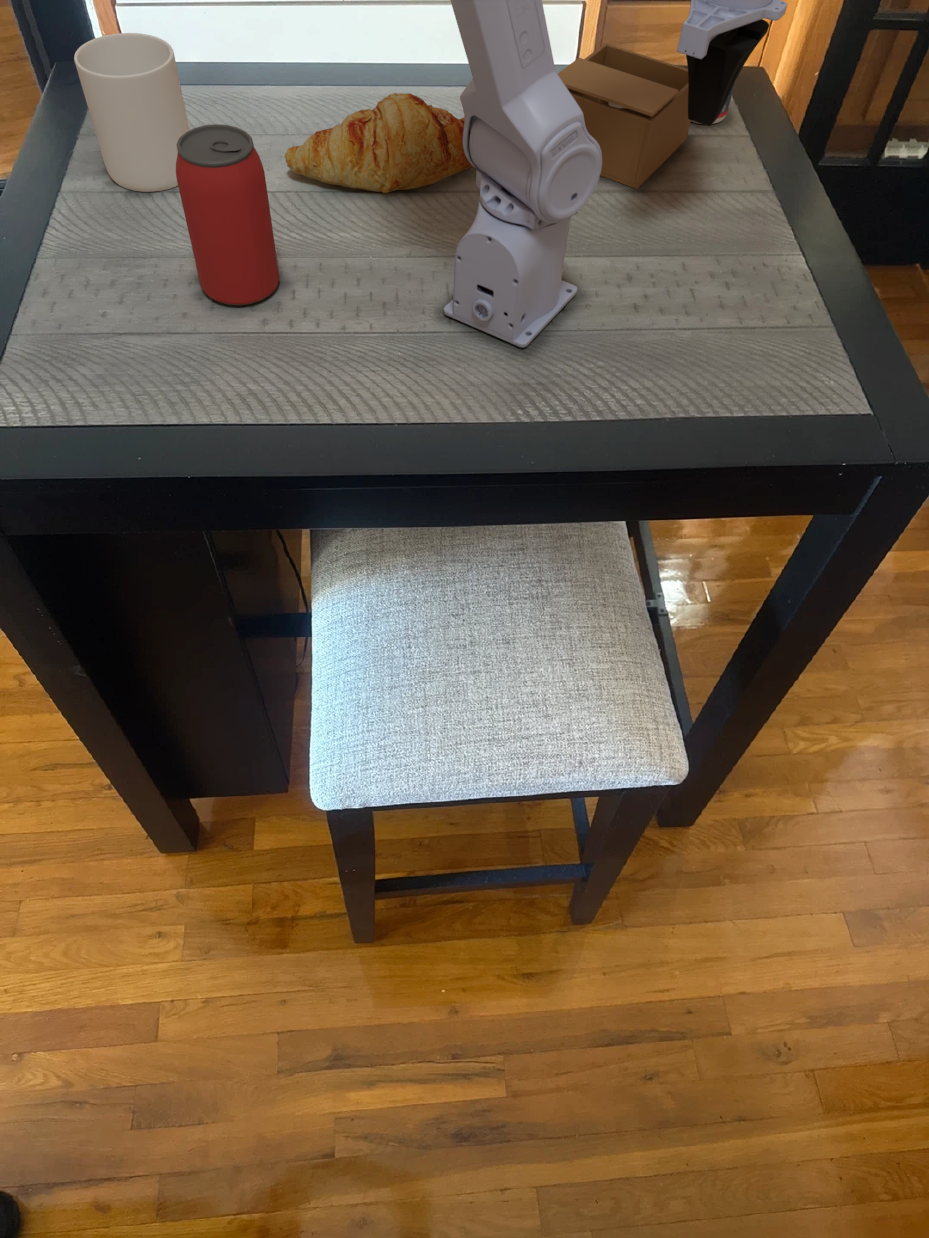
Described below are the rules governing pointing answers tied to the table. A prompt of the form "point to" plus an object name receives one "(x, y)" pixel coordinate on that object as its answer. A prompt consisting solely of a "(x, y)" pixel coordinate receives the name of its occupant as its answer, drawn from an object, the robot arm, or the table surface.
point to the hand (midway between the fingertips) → (701, 119)
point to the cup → (134, 107)
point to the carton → (636, 118)
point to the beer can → (227, 213)
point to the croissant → (385, 147)
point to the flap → (616, 86)
